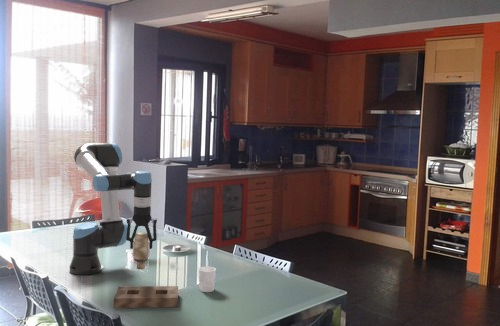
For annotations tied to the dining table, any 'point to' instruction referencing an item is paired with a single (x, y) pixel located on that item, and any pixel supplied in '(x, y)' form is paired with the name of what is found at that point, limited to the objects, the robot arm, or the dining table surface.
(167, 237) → the dining table surface
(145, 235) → the beech peg
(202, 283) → the white cup
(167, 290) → the walnut board
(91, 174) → the robot arm
